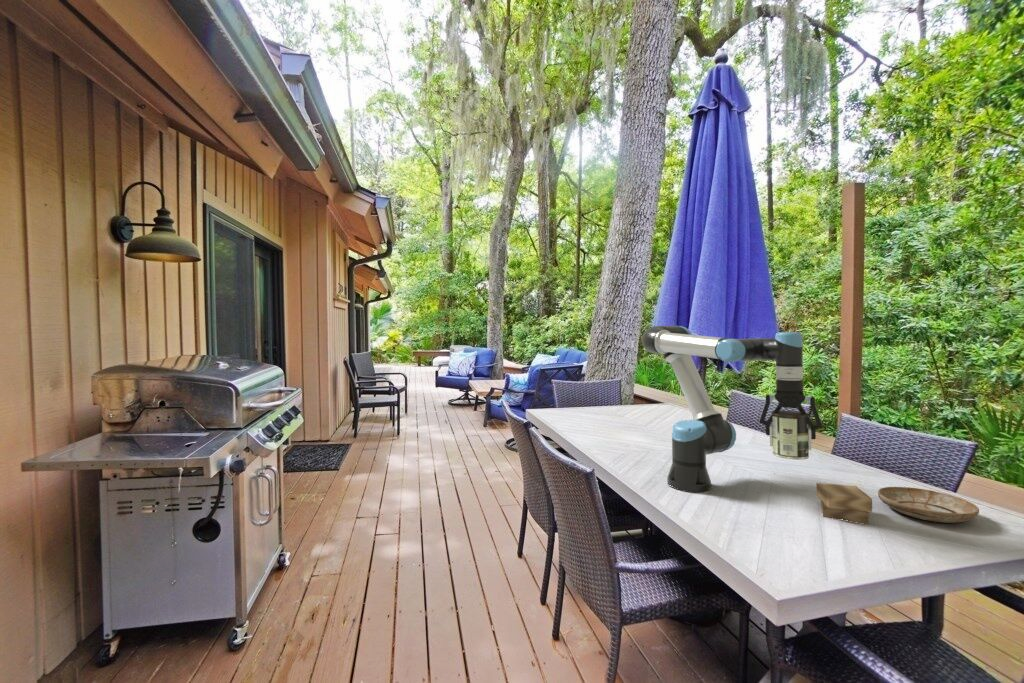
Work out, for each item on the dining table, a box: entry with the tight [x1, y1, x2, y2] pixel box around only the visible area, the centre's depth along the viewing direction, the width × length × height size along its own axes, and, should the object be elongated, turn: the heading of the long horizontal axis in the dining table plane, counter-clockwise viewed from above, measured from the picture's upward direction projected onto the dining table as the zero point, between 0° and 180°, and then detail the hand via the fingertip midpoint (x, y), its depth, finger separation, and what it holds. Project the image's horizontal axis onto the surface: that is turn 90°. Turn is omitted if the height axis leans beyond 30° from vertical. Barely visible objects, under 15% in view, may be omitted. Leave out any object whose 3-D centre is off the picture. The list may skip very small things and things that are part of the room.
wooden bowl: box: [877, 486, 980, 524], centre depth 140 cm, size 23×24×5 cm
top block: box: [815, 482, 873, 513], centre depth 140 cm, size 11×11×4 cm
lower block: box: [820, 499, 869, 525], centre depth 140 cm, size 11×11×4 cm
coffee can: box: [771, 409, 810, 461], centre depth 147 cm, size 10×10×14 cm
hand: (790, 447), depth 147 cm, fingers closed on coffee can, 10 cm apart
